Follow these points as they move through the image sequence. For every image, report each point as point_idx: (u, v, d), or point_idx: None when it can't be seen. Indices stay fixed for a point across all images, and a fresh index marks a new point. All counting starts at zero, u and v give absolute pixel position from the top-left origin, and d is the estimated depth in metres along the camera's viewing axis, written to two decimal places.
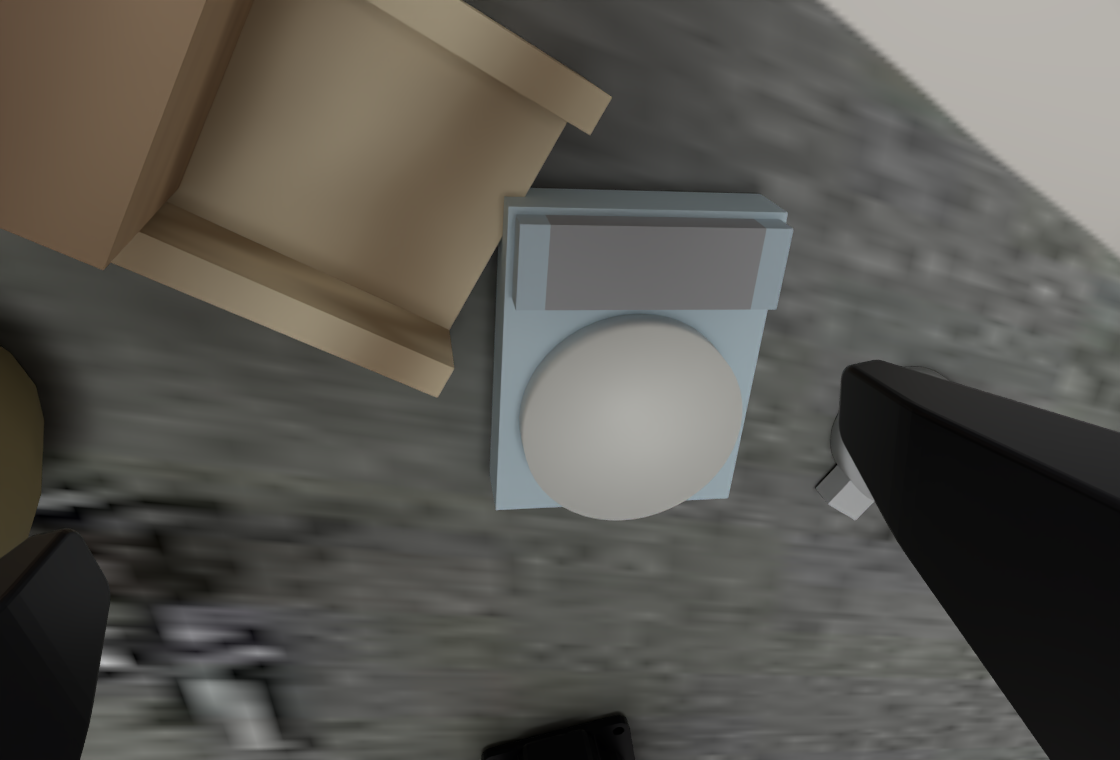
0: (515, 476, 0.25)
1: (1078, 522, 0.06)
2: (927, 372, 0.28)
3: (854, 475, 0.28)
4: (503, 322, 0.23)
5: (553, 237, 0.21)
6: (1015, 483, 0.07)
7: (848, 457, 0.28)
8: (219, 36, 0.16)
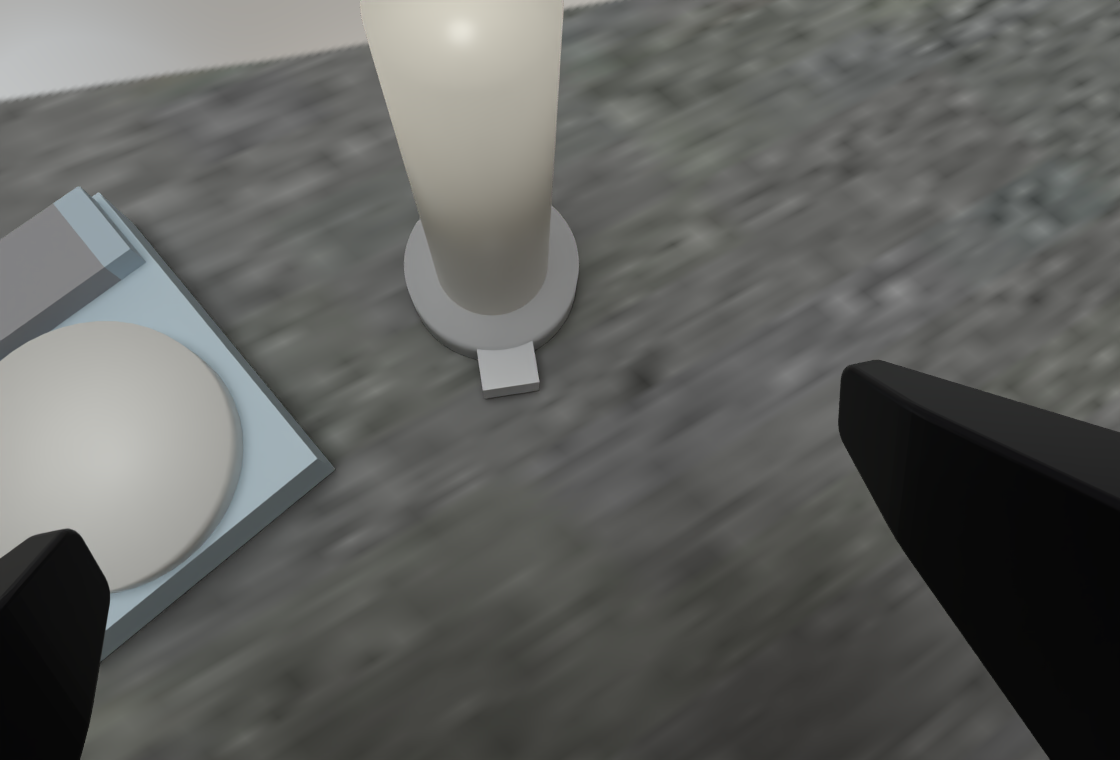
0: None
1: (1078, 522, 0.06)
2: None
3: (458, 336, 0.22)
4: None
5: None
6: (1015, 483, 0.07)
7: (434, 328, 0.22)
8: None
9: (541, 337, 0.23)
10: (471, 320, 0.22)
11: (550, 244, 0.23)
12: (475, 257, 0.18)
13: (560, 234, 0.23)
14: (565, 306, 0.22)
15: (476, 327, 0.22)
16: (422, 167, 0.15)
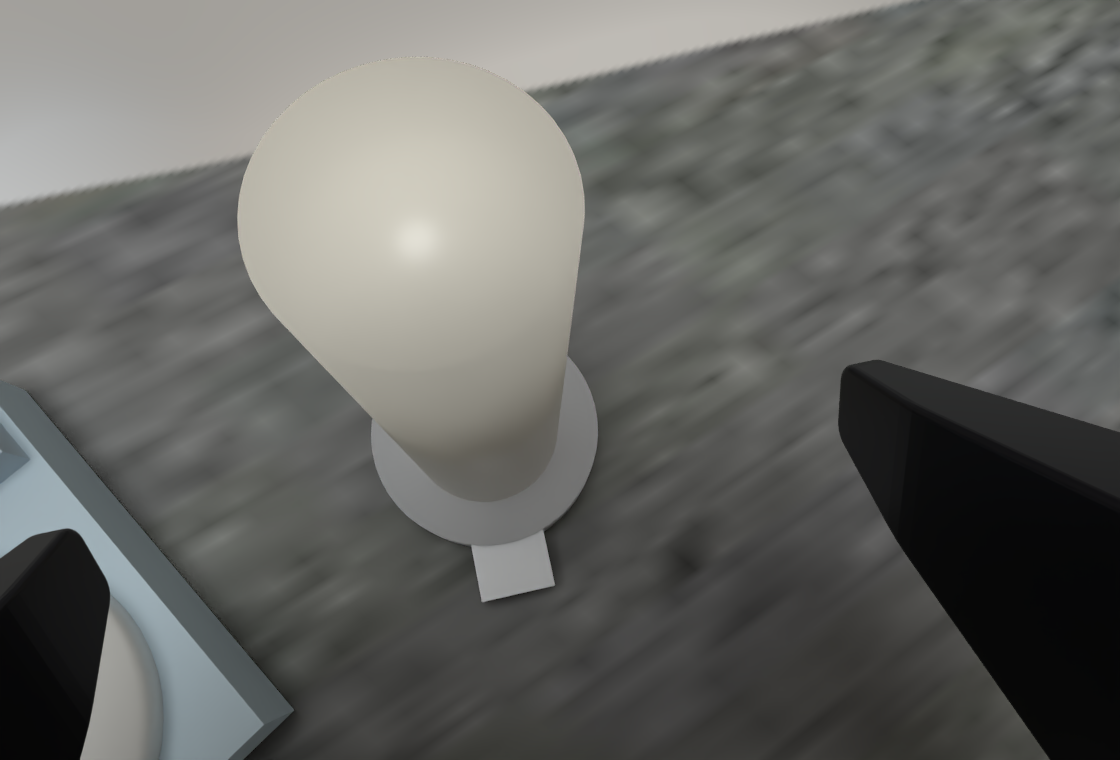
0: None
1: (1077, 522, 0.06)
2: None
3: (446, 533, 0.17)
4: None
5: None
6: (1015, 483, 0.07)
7: (415, 521, 0.17)
8: None
9: (554, 521, 0.18)
10: (462, 509, 0.17)
11: None
12: (463, 475, 0.13)
13: (571, 385, 0.18)
14: (583, 483, 0.17)
15: (469, 519, 0.17)
16: (370, 413, 0.10)
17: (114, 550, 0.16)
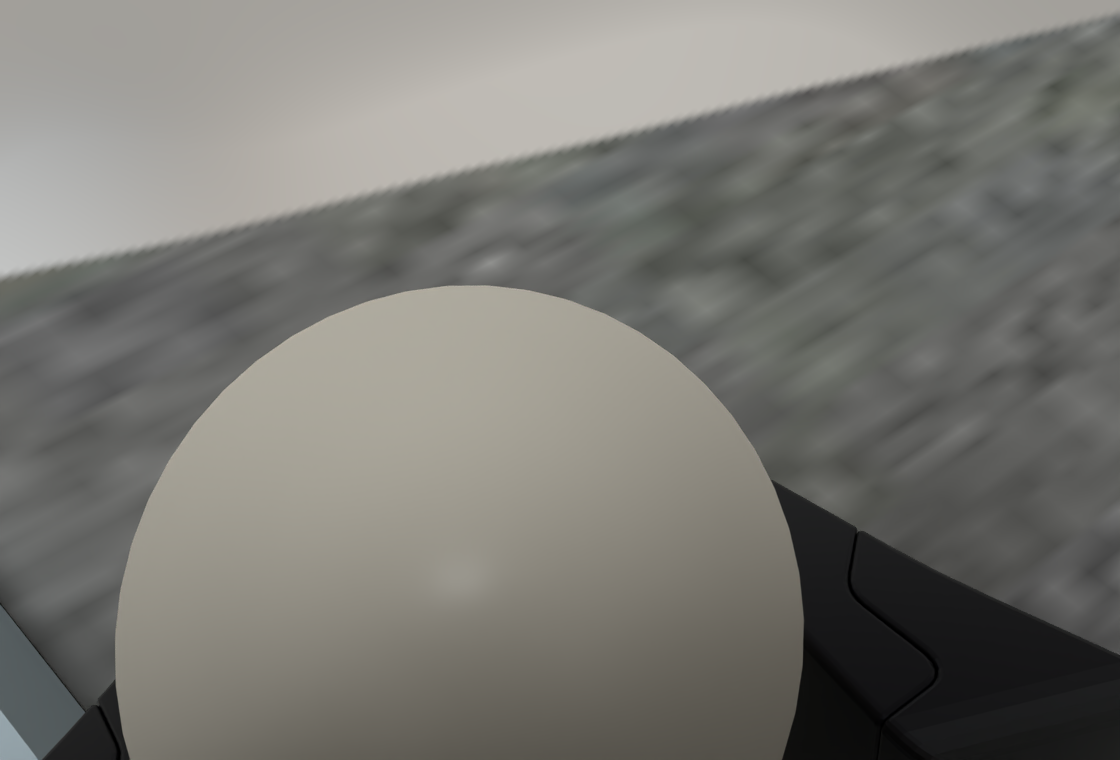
0: None
1: None
2: None
3: None
4: None
5: None
6: None
7: None
8: None
9: None
10: None
11: None
12: None
13: None
14: None
15: None
16: None
17: None
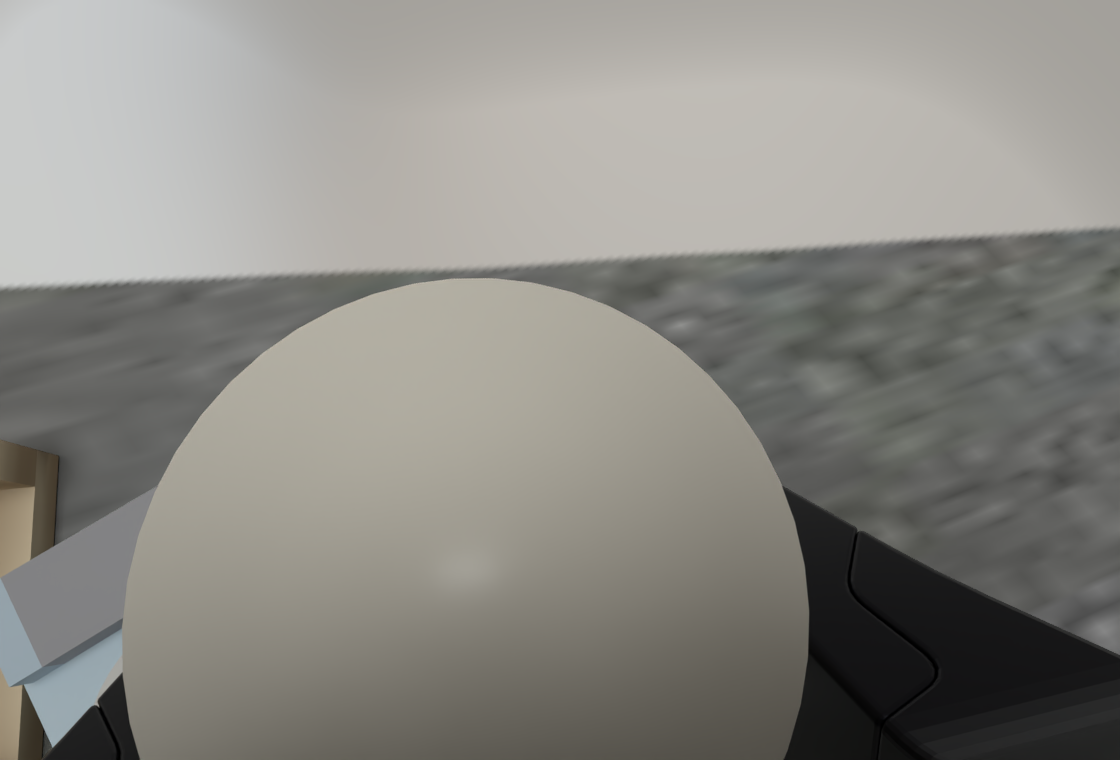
0: None
1: None
2: None
3: None
4: (41, 716, 0.19)
5: (9, 587, 0.19)
6: None
7: None
8: None
9: None
10: None
11: None
12: None
13: None
14: None
15: None
16: None
17: None
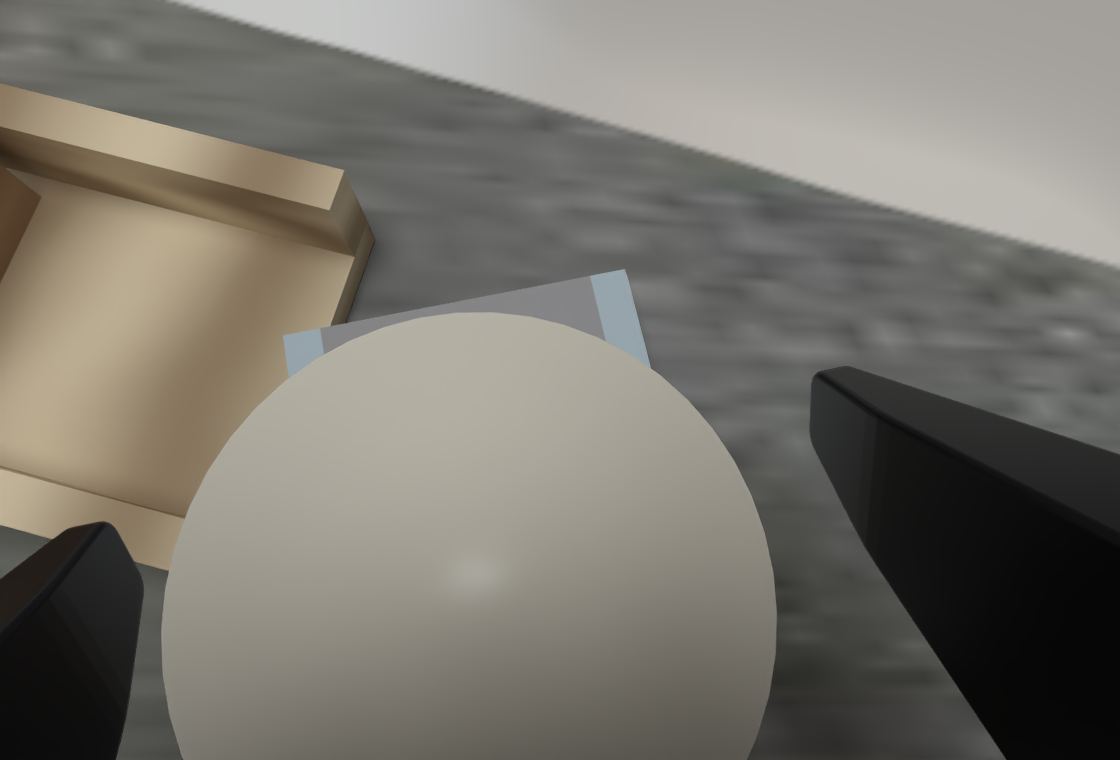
0: None
1: (1034, 533, 0.06)
2: None
3: None
4: None
5: (326, 341, 0.17)
6: (974, 493, 0.07)
7: None
8: None
9: None
10: None
11: None
12: None
13: None
14: None
15: None
16: None
17: None
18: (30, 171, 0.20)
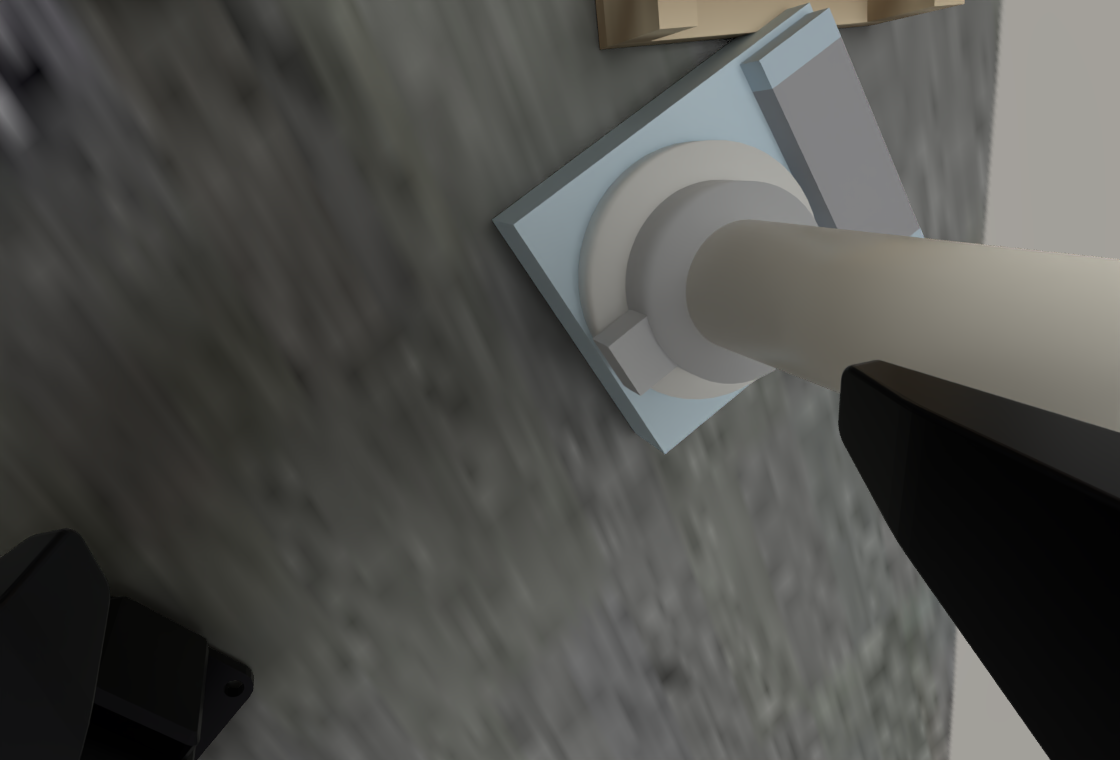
0: (566, 213, 0.20)
1: (1078, 522, 0.06)
2: None
3: (656, 296, 0.19)
4: (711, 75, 0.21)
5: (833, 47, 0.21)
6: (1015, 483, 0.07)
7: (652, 263, 0.19)
8: None
9: None
10: (677, 299, 0.19)
11: None
12: (790, 344, 0.15)
13: None
14: (727, 383, 0.20)
15: (672, 309, 0.19)
16: (934, 337, 0.12)
17: None
18: None
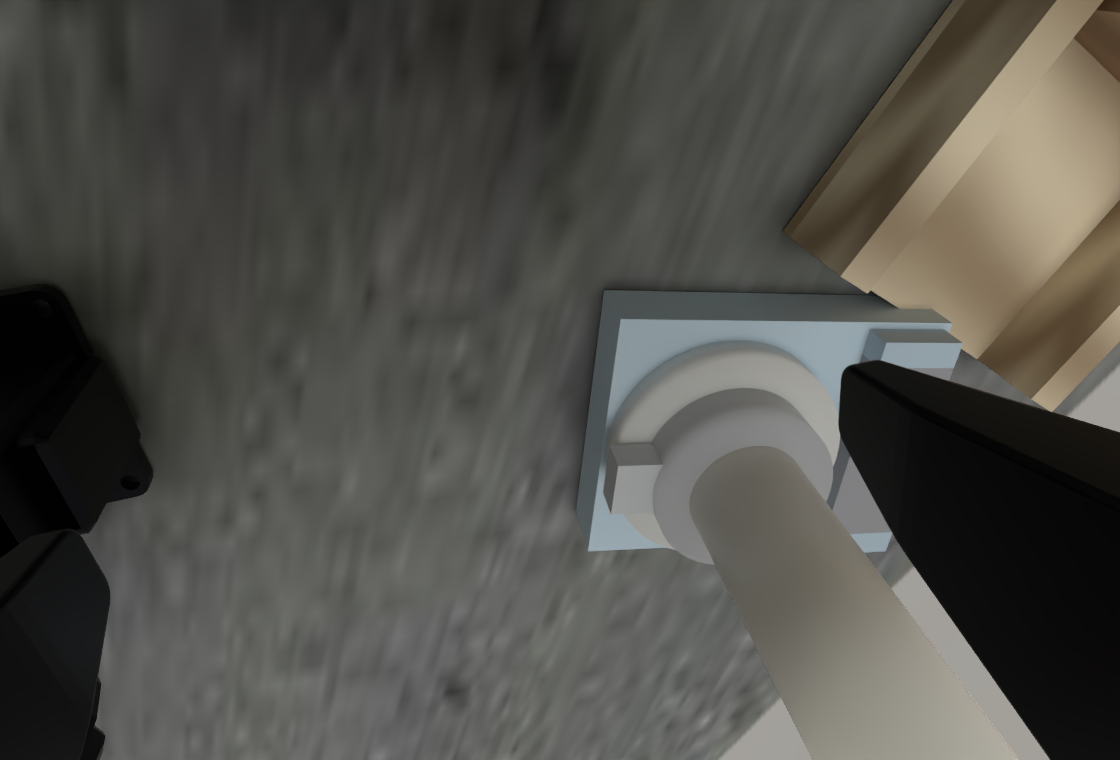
0: (664, 339, 0.22)
1: (1078, 522, 0.06)
2: None
3: (681, 459, 0.21)
4: (845, 320, 0.22)
5: (942, 371, 0.23)
6: (1015, 483, 0.07)
7: (698, 435, 0.20)
8: None
9: None
10: (694, 471, 0.21)
11: None
12: (753, 593, 0.18)
13: None
14: (677, 550, 0.22)
15: (684, 475, 0.21)
16: (859, 701, 0.14)
17: None
18: None
